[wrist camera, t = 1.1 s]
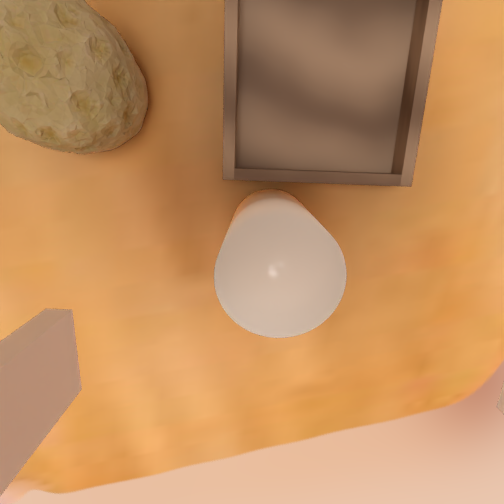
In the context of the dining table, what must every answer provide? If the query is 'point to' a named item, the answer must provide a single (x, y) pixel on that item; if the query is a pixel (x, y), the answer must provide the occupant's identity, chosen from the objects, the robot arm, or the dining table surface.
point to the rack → (326, 89)
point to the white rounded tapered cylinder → (278, 267)
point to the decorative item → (67, 77)
